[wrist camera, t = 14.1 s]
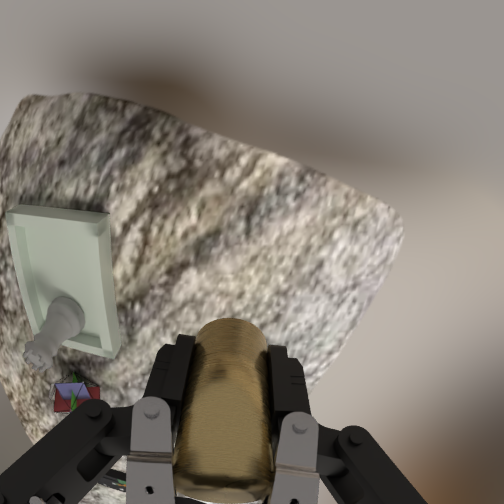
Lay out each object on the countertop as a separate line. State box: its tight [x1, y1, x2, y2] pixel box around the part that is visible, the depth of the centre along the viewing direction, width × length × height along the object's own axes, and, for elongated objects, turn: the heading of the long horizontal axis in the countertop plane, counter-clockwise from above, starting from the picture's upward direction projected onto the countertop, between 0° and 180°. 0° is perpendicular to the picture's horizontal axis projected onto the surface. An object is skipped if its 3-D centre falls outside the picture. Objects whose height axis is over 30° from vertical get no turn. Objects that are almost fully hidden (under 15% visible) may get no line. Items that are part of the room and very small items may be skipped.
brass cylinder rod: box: [173, 318, 273, 504], centre depth 10 cm, size 3×3×7 cm
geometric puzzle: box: [49, 371, 100, 414], centre depth 31 cm, size 7×7×8 cm
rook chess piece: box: [23, 297, 85, 372], centre depth 24 cm, size 4×4×8 cm
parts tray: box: [5, 204, 122, 359], centre depth 26 cm, size 15×11×2 cm
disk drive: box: [98, 469, 126, 492], centre depth 50 cm, size 10×3×15 cm
